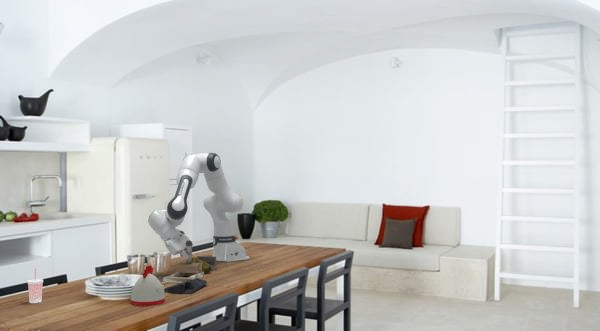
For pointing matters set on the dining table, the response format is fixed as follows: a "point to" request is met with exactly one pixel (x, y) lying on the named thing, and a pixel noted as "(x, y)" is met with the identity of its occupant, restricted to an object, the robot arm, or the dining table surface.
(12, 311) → the dining table surface
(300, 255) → the dining table surface
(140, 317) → the dining table surface
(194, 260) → the olive green rounded lump
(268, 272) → the dining table surface
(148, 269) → the grey and red dome
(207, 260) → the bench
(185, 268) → the wooden knobbed block
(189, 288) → the dark slate chunk
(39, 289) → the beverage cup
